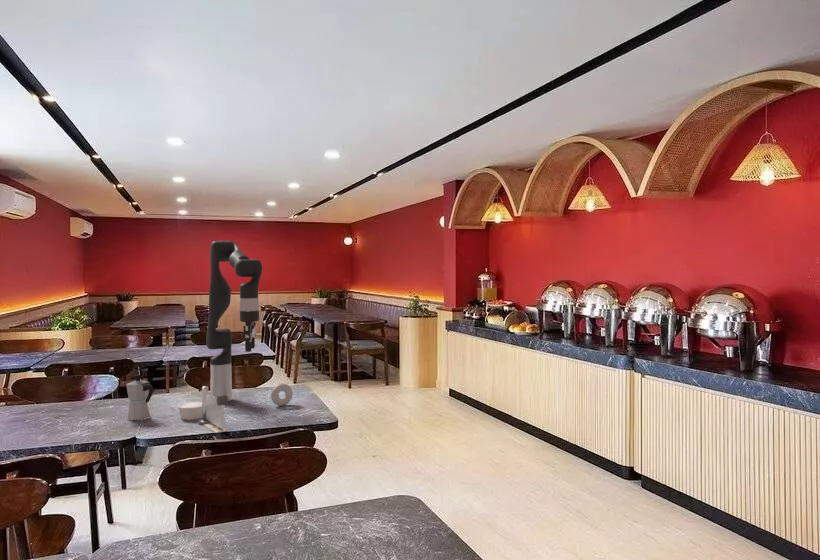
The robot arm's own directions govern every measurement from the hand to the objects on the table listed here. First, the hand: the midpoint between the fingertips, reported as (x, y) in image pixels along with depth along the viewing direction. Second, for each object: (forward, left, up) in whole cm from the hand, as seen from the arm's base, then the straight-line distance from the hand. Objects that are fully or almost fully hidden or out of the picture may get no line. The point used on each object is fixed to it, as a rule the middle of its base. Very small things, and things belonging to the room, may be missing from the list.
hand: (250, 349), depth 233 cm
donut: (-12, +23, -29) cm, 39 cm away
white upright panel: (-4, -14, -27) cm, 31 cm away
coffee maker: (-40, -27, -29) cm, 56 cm away
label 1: (-6, -14, -29) cm, 33 cm away
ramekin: (-25, -12, -29) cm, 40 cm away
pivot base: (-13, -13, -29) cm, 34 cm away
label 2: (+1, -15, -29) cm, 33 cm away
